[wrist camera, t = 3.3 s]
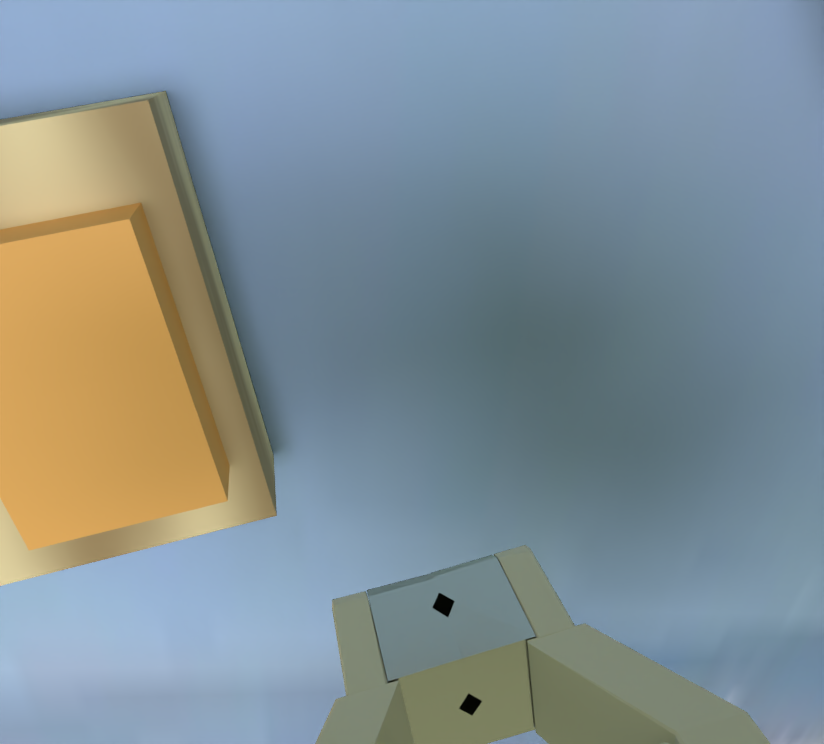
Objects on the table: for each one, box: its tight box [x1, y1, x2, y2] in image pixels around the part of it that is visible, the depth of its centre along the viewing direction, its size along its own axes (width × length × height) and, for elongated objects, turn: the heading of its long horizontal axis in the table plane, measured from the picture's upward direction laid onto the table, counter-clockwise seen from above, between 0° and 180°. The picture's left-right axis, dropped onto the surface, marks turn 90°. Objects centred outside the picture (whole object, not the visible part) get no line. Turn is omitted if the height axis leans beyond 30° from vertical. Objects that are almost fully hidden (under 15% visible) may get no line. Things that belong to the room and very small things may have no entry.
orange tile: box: [0, 203, 230, 550], centre depth 19 cm, size 6×9×2 cm, turn 8°
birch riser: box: [0, 91, 277, 586], centre depth 22 cm, size 12×14×4 cm
